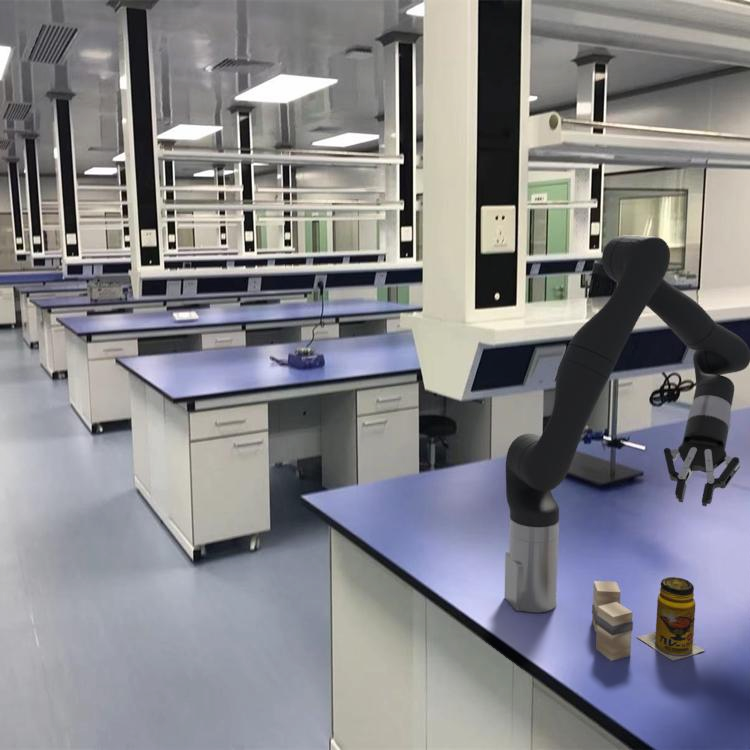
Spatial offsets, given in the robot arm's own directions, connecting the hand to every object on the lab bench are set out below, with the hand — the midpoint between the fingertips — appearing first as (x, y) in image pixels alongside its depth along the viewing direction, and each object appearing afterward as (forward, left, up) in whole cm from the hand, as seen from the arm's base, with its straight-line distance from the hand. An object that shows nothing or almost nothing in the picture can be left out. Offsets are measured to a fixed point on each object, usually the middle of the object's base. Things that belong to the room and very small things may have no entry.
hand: (692, 501), depth 136 cm
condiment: (-9, -9, -22) cm, 26 cm away
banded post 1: (-17, -1, -22) cm, 28 cm away
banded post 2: (-20, -9, -22) cm, 31 cm away
